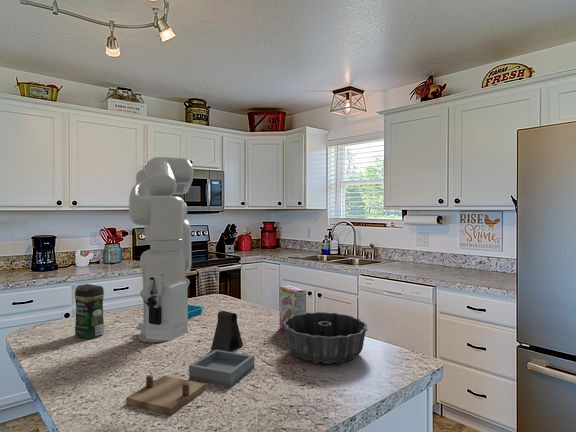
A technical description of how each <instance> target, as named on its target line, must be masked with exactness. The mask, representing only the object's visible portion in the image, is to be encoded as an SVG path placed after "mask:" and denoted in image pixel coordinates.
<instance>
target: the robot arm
mask: <svg viewBox="0 0 576 432" xmlns="http://www.w3.org/2000/svg"><path fill="white" fill-rule="evenodd" d="M193 179H194V167H193V164H192V163H191V161H190V160H189V159H187V158H184V157H170V156H157V157H153V158H151V159H149V160H148V161H147V163H146V165H145V169H141V170H138V172H137V173H136V176H135V182H136V184H134V186H133V187H132V188H131V189H130V193H129V198H128V215H129V220H130V221H131V222H132V223H133V224H134V225H137V226H144V239H145V242H146V243H147V244H148V245H150V247H149V249H147V250H145V251H143V252H142V254H141V255H140V257H139V258H140V259H139V263H140V269H141V276H142V277H141V279H142V289H141V290H140V292H139V296H140V297H141V298H142V303H143V305H142V308H143V309H142V310H143V311H142V312H143V313H142V318H143V319H142V320H143V322H139V323H138V325H136V327H135V329H136V330H138V331H140V334H139V335H138V340H139V341H141V342H143V343H148V344H149V343H152V344H153V343H162V342H166V341H167V342H168V340H159V339H151V338H146V320H145V303H146V305H147V307H149V324H155V325H160V324H161V307H159V305H160V303H161V297H162V296H163V295H164V289H165V287H166V286H169V285H173V284H177V283H181V282H187V291H188V290H189V289H188V288H189V286H190V283H191V281H190V279H189V278H188V277H187V276H186V274H188V273H189V272H191V269H192V227H191V224H190V222H189V221H188V219H187V215H188V206H187V202H185V201H184V199H183V198H182V197H180V196H178V195H185V194H188V192H189V190H190V188H191V186H192V183H193ZM176 195H177V196H176ZM154 287H155V288H156V290H157V294H156V293H153V290H152V289H153V288H154ZM151 290H152V291H151ZM150 291H151V292H150ZM150 293H151V294H150ZM153 297H157V298H156V301H155V300H154V299H153Z"/></svg>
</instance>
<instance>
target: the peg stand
mask: <svg viewBox="0 0 576 432" xmlns="http://www.w3.org/2000/svg"><path fill="white" fill-rule="evenodd" d="M205 391H206V384H205V383H201V382H197V381H193V380H192V381H191V380H187V379H183V378H177V377H172V376H169V375H163V376H161V377H159V378H158V379H156V380H154V375H152V374H151V375H147V376H146V378H145V386H143V387H142V388H140V389H139V390H137V391H135V392H133V393H131V394H130V395H128V396H126V398H125V399H126V402H125V404H126V405H130V406H134V407H137V408H142V409H145V410H149V411H153V412H156V413H160V414H165V415H169V416H173V415H174V413H177V412H178V411H180V409H181V408H183V407H184V406H185V405H187V404H189V403H190V402H191V401H193V400H194V399H196V398H197V397H198V396H199V395H201V394H203V393H204V392H205Z"/></svg>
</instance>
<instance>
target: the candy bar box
mask: <svg viewBox="0 0 576 432" xmlns="http://www.w3.org/2000/svg"><path fill="white" fill-rule="evenodd" d="M278 287H279V288H278V289H279V329H280V330H283V331H285V327H284V325H283V323H284V321H286V318H290V317H291V316H293V315H297V314H304V313H307V290H305V289H302V288H300V287H297V286H293V285H280V286H278Z"/></svg>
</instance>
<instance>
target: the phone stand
mask: <svg viewBox="0 0 576 432" xmlns="http://www.w3.org/2000/svg"><path fill="white" fill-rule="evenodd" d="M243 347H244V343H243V340H242V336H241V331H240V328H239V324H238V315H237V313H235V312H230V311H225V310H221V311H220V310H219V311H218V313H217V323H216V327H215V331H214V335H213V339H212V343H211V348H210V351H211V352H213V351H214V350H222V351H228V352H234V351H236V350H238V349H241V348H243Z"/></svg>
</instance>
